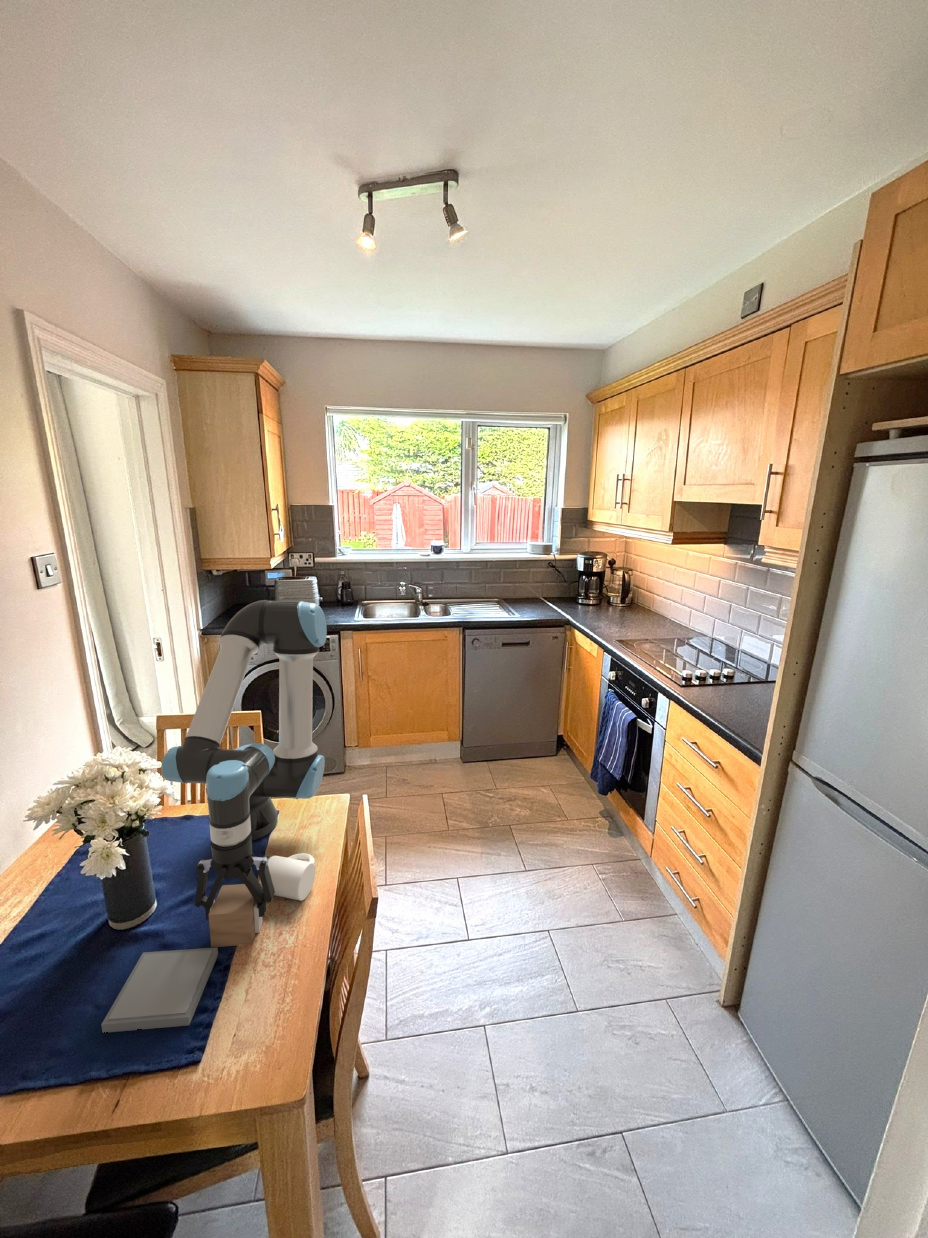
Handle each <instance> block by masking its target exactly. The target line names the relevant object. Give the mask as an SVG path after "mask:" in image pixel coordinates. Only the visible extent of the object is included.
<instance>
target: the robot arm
mask: <svg viewBox="0 0 928 1238" xmlns="http://www.w3.org/2000/svg"><path fill="white" fill-rule="evenodd" d="M327 630H328V629H327V621H326V616H325V613H324V611H323V609H322V608H321V606H320V605H319V604H317V603H314V602H307V601H296V600H295V601H293V600H292V601H291V600H290V601H289V600H269V599H264V600H263V599H262V600H257V601H255V602H251V603H249V604H247V605H246V606H244V607H243V608H241V609H240V610H239V611H237V612H236V613H235V615H233V617H232V618H230V620H229V621H228V622H227V623H226V626H225V627H224V629H223V630H222V633H221V634H220V637H219V640H218V644H219V645H220V649H219V651H218V655H217V657H216V660H215V662H214V665H213V667H212V670H211V671H210V674H209V677H208V680H207V681H206V682H207V683H206V685H205V688H204V689H203V692H202V695H201V697H200V700H199V703H198V704H197V706H196V710H195V712H194V715H193V717H192V720H191V721H190V722H191V723H190V725H189V727H188V731H187V733H186V735H185V738H184V740H183V743H182V744H181V745H179V746H173V747H171V748H169V749H168V751H167V752H166V753H165V754H164V756H163V758H162V761H161V767H160V768H161V770H160V771H161V775H162V777H163V778H164V779H165V780H166V781H169V782H173V783H174V782H175V783H182V784H202V785H203V784H205V787H206V788H205V793H206V797H207V798H206V799H207V808H208V816H209V817H208V820H209V833H210V834H209V835H210V841H211V842H210V849H211V858H210V859H207V858H206V857H202V858H201V859H200V861H199V862H198V864H197V866H195V870H196V873H197V883H196V891H195V899H194V907H196V908H199V907H203V908H204V909H205V910H204V912H205V919H206V921H209V913H210V911H211V908H212V906H213V904H214V902H215V900H216V898H215V897H217V893H218V891H219V890H220V889H219V888H221V887H220V886H222V885H221V884H222V882H223V880H229V879H239V880H240V881H241V884H245V885H246V887H247V888H248V890H249V892H250V893H251V895H252V896H253V898H254V900H255V901H256V903H255V905H254V919H255V933H256V934H259V933H260V931H261V928H262V925H263V917H265V915H266V912H267V903H269V904H270V903H271V902H273V898H274V896H275V895H274V893H275V890H274V886H273V883H272V879H271V875H270V872H269V868H268V860H269V858H270V857H269V855H268V854H264V855H263V856H262V857H259V856H255V854H254V853H253V841H256V840H259V839H261V838H263V837H266V835H269V834H270V833H271V832H272V831H274V829H275V828H276V826H277V825H278V820H279V819H278V812H277V808H276V807H275V804H274V802H273V800H272V798H280V799H281V798H282V799H293V800H294V799H295V800H299V799H301V800H303V799H304V800H305V799H306V800H307V799H312V798H313V797H314V796H315V795H316V794H317V792H318V790H319V788H320V786H321V783H322V779H323V777H324V771H325V764H326V763H325V762H326V759H325V756H324V755H322V754H318V746H317V745H316V744H315V743H314V742H313V697H314V696H313V695H314V694H313V687H314V686H313V682H314V680H313V677H314V675H313V674H314V657H315V656H316V655H317V654H319V651H320V647H323V646H324V645H325V644H326V641H327V634H328V631H327ZM263 644H266V645H272V647H273V649H272V651H273V654H274V655H276V657H278V659H279V661H278V663H279V664H278V665H279V667H278V668H279V669H278V671H279V672H278V674H279V677H278V682H279V683H278V684H279V685H278V688H279V690H278V691H279V692H278V697H279V698H278V701H279V702H278V704H279V705H278V710H279V711H278V745H277V746H276V747H274V748H273V750H272V748H271V747H270V746H269V745H267V744H266V743H262V742H255V743H248V744H245V745H242V746H240V747H239V746H238V747H236V748H234V749H230V748H227V749H224V748H223V749H222V748H221V747H220V746H221V743H222V740H223V737H224V735H225V732H226V730H227V729H226V728H227V727H228V724H229V722H230V718H231V715H232V714H233V713H232V712H233V710H234V707H235V704H236V702H237V701H236V700H237V698H238V695H239V693H240V691H241V687H242V684H243V682H244V679H245V675H246V674H247V671H248V667H249V666H250V665H249V664H250V662H251V660H252V656H254V655H256V654H258V651H259V650H260V647H261V645H263ZM253 865H254V866H255V868H256V870H257V871H258V876H259V880H258V878H257V876H256V875H255V873H254V872H253V867H252V866H253ZM211 868H212V869H213V870H214V871H215V872H216V873H217V876H216V879H215V881H214V883H213V885H212V887H211V889H210V892H209V895H208V896H206V893H207V886H208V885H207V884H208V879H209V877H208V876H209V871H210V869H211ZM260 880H261V884H262V886H261V885H260V883H259V882H260Z"/></svg>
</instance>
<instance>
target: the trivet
mask: <svg viewBox="0 0 928 1238" xmlns="http://www.w3.org/2000/svg"><path fill="white" fill-rule="evenodd" d="M218 948H219V947H204V948H192V949H187V948H186V949H176V950H175V949H173V950H161V951H148V952H147V951H146V952H145V951H144V952H142V953H141V955H140V957H139V959H138V960H137V962H136V964H135V965H134V968H133V969H132V971H131V973H130V974H129V976H128V978H127V980H126V981H125V983H124V985H123V986H122V988H121V989H120V992H119V993H118V995H117V996H116V999H115V1000H114V1002H113V1004H112V1005H111V1007H110V1009H109V1011H108V1012H107V1014H106V1016H105V1018H104V1019H103V1021H102V1023H101V1025H100V1026H101V1031H102V1034H105V1033H106V1032H108V1033H117V1032H126V1031H127V1032H129V1031H138V1030H137V1029H142V1030H150V1029H161V1028H172V1027H174V1028H176V1027H186V1026H190V1024H191V1022H192V1019H193V1017H194V1016H195V1012H196V1010H197V1007H198V1005H199V1002H200V1001H201V998H202V996H203V992H204V989H205V987H206V986H207V982H208V981H209V977H210V976H211V973H212V971H213V969H214V966H215V963H216V961H217V959H218V955H219V949H218ZM104 1032H105V1033H104ZM106 1034H107V1033H106Z"/></svg>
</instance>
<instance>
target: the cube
mask: <svg viewBox="0 0 928 1238" xmlns="http://www.w3.org/2000/svg"><path fill="white" fill-rule="evenodd" d="M260 885H261V883H260ZM218 891H219V892H218V894H217V895H216V898H215V899H214V900H215V902H214V904H213V906H212V908H211V911H210V913H209V920H208V923H209V924H208V926H209V936H210V938H209V939H210V948H216V947H218V948H220V947H222V948H223V947H233V946H250V945H252V944H253V942H254V940H255V936H256V934H257V933H255V919H254V905H255V903H256V901H255V900H254V898H253V896H252V895H251V893H250V892H249V890H248V888H247V887H246V885H245V884H244V883H239V884H223V885H221V887H220V889H219V890H218Z"/></svg>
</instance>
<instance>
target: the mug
mask: <svg viewBox="0 0 928 1238" xmlns="http://www.w3.org/2000/svg"><path fill="white" fill-rule="evenodd" d="M315 863H316V860H315V857H314V856H312V855H311V854H309V853H306V852H305V853H303V852H302V853H301V852H300V853H295V854H293V855H290V856H288V857H285V856H281V855H272V856H270V857H269V859H268V868H269V872H270V875H271V879H272V883H273V886H274V890H275V893H274V896H277V897H281V898H282V897H283V898H287V899H291V900H296V901H304V900H305V899H306V898H307V897H308V896H309V894H310V892H311V890H312V888H313V886H314V885H313V884H314V882H315V878H316V865H315ZM258 882H259V883H261V880H260V879H259V881H258ZM261 886H262V884H261Z"/></svg>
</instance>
